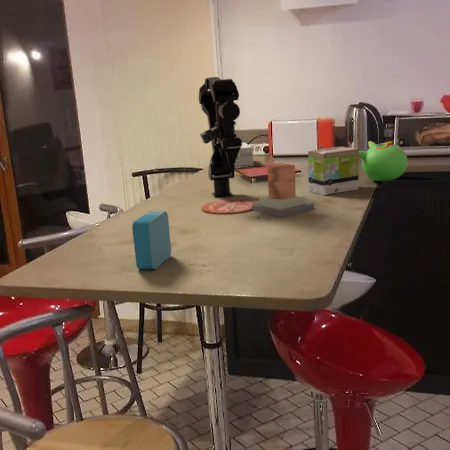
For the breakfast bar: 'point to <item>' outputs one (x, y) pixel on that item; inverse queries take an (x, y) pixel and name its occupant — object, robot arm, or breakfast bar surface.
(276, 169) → the terracotta block
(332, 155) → the tea box
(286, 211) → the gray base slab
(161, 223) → the data package
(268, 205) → the sage top slab
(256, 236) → the breakfast bar surface
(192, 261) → the breakfast bar surface
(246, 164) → the supplement box
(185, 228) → the breakfast bar surface
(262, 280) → the breakfast bar surface
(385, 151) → the green rounded body
